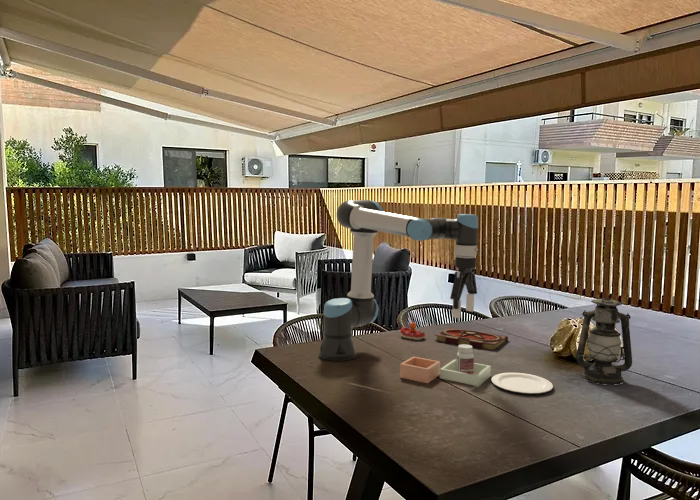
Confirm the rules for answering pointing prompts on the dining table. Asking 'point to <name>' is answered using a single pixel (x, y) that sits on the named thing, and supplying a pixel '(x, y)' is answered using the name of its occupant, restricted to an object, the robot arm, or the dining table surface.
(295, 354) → the dining table surface
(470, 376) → the green tray
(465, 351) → the pill bottle
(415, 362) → the orange open box
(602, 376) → the lantern
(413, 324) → the toy boat
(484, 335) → the book
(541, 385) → the plate
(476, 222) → the robot arm
